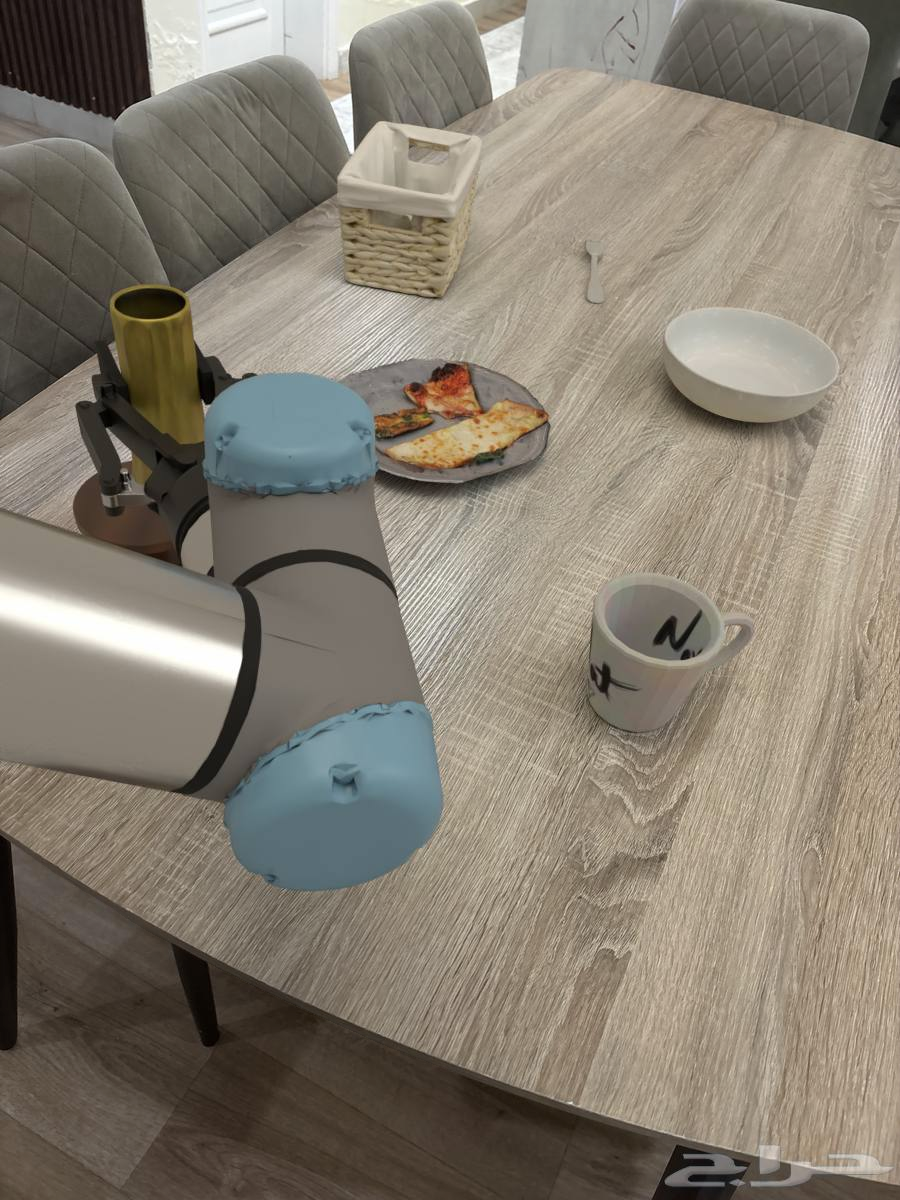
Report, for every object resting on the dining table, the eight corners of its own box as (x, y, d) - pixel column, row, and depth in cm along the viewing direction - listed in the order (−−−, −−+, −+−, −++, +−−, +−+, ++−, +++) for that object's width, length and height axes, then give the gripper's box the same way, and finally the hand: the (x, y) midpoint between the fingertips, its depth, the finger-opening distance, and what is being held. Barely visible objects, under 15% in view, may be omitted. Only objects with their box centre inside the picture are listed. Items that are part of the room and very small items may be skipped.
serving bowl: (679, 337, 127) (693, 289, 122) (833, 387, 121) (854, 339, 116) (627, 406, 113) (640, 355, 108) (797, 467, 107) (820, 416, 103)
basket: (447, 307, 127) (457, 196, 116) (330, 286, 128) (331, 175, 117) (475, 237, 144) (487, 135, 134) (372, 219, 145) (376, 116, 135)
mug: (551, 661, 82) (573, 578, 75) (702, 638, 86) (736, 557, 79) (597, 757, 75) (625, 675, 68) (759, 727, 79) (802, 646, 72)
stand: (78, 626, 80) (61, 563, 75) (73, 522, 89) (58, 460, 84) (244, 602, 84) (239, 541, 79) (223, 505, 93) (217, 445, 88)
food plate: (469, 357, 118) (472, 331, 115) (588, 455, 105) (594, 429, 103) (290, 405, 106) (289, 377, 104) (399, 522, 94) (401, 494, 91)
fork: (581, 316, 134) (585, 299, 131) (582, 240, 147) (586, 223, 145) (601, 319, 134) (605, 302, 131) (600, 242, 147) (604, 226, 145)
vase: (133, 451, 75) (104, 280, 65) (213, 448, 76) (196, 280, 66) (131, 499, 70) (99, 324, 60) (214, 495, 72) (197, 323, 62)
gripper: (93, 622, 56) (25, 414, 70) (377, 551, 63) (263, 374, 77) (70, 526, 51) (2, 322, 65) (382, 459, 58) (259, 288, 72)
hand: (144, 351), depth 71 cm, fingers closed on vase, 5 cm apart
